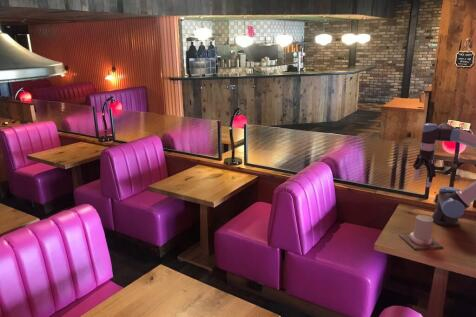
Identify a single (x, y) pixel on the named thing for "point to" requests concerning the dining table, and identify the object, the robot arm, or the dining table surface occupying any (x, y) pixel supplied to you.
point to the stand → (420, 242)
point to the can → (423, 227)
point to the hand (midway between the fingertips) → (422, 183)
